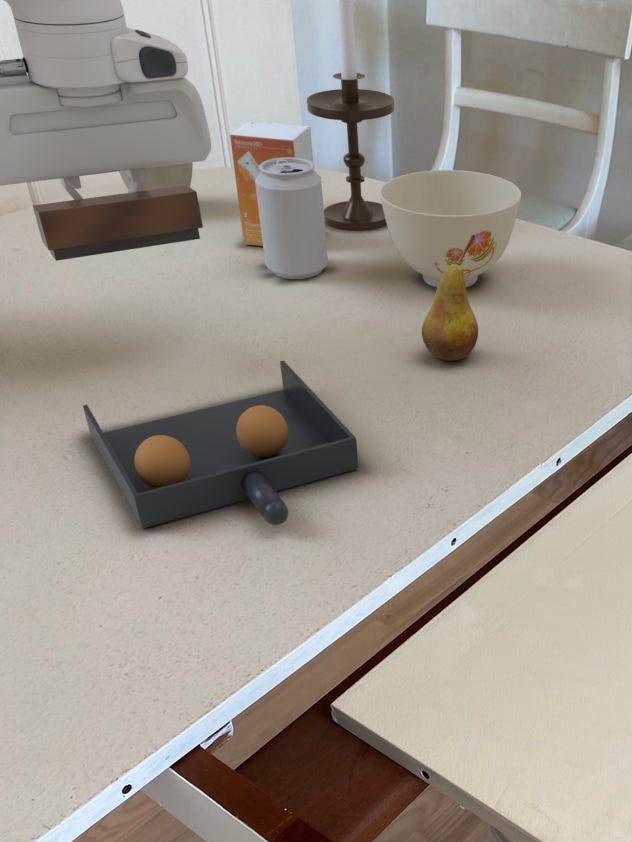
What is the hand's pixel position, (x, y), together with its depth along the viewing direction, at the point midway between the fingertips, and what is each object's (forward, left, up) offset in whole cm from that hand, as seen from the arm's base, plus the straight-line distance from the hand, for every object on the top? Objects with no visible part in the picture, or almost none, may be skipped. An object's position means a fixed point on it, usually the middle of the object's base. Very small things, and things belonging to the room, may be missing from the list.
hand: (113, 220), depth 93 cm
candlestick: (+36, +25, -13) cm, 46 cm away
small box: (+24, +22, -13) cm, 35 cm away
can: (+22, +12, -13) cm, 28 cm away
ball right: (+4, -26, -10) cm, 28 cm away
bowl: (+37, +1, -13) cm, 39 cm away
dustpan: (0, -27, -13) cm, 30 cm away
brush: (0, -2, -1) cm, 2 cm away
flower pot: (+14, +40, -13) cm, 44 cm away
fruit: (+27, -17, -13) cm, 35 cm away
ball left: (-5, -27, -10) cm, 30 cm away
